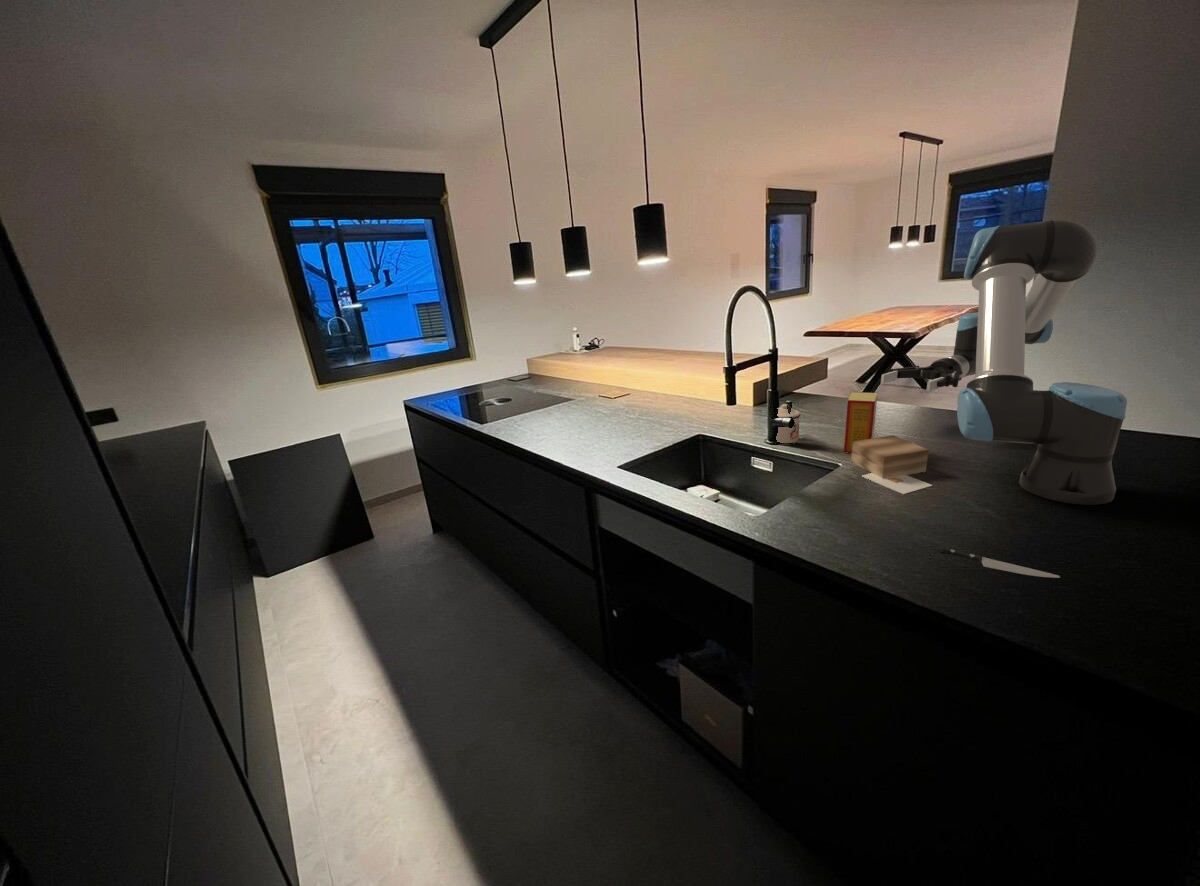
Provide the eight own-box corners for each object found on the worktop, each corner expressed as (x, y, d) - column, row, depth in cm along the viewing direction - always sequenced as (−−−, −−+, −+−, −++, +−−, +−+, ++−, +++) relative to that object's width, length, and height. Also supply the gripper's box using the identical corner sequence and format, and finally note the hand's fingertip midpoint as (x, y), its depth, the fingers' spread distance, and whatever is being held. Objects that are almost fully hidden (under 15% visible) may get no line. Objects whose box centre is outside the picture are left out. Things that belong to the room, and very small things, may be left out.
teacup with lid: (796, 446, 144) (797, 409, 140) (765, 443, 149) (766, 407, 145) (803, 434, 153) (805, 399, 150) (774, 431, 158) (775, 397, 154)
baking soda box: (847, 442, 143) (851, 390, 138) (872, 444, 140) (877, 391, 134) (843, 453, 136) (847, 399, 130) (869, 455, 132) (875, 400, 127)
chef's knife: (1077, 592, 76) (1076, 581, 78) (1079, 586, 75) (1078, 576, 77) (933, 558, 88) (936, 549, 90) (934, 553, 87) (936, 544, 89)
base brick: (925, 471, 119) (928, 449, 117) (882, 479, 118) (884, 456, 116) (890, 455, 131) (893, 435, 129) (850, 462, 129) (852, 441, 127)
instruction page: (932, 485, 112) (932, 484, 112) (903, 494, 110) (903, 492, 110) (888, 469, 123) (888, 467, 123) (861, 476, 121) (861, 475, 121)
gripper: (992, 387, 138) (948, 402, 130) (906, 375, 159) (864, 388, 151) (996, 362, 135) (952, 375, 127) (909, 353, 157) (866, 364, 149)
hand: (904, 382), depth 139 cm, fingers open, 13 cm apart
